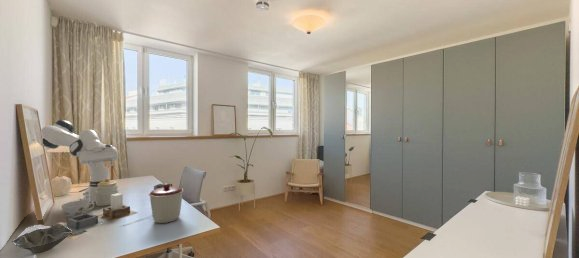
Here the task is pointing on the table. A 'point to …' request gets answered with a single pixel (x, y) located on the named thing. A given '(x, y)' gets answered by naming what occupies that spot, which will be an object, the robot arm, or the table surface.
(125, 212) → the brown open box
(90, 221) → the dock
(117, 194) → the plug
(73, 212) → the teacup
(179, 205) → the canister
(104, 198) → the jar
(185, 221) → the table surface
